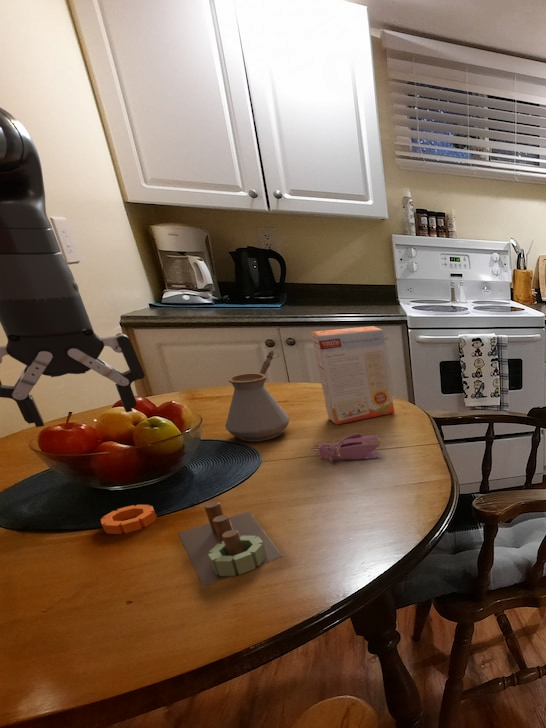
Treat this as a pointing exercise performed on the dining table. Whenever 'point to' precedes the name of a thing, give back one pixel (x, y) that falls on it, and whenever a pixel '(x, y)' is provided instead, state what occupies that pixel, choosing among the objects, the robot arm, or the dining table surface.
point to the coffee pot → (255, 407)
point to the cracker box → (353, 373)
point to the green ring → (238, 557)
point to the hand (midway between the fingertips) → (86, 417)
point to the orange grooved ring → (143, 518)
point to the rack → (218, 531)
